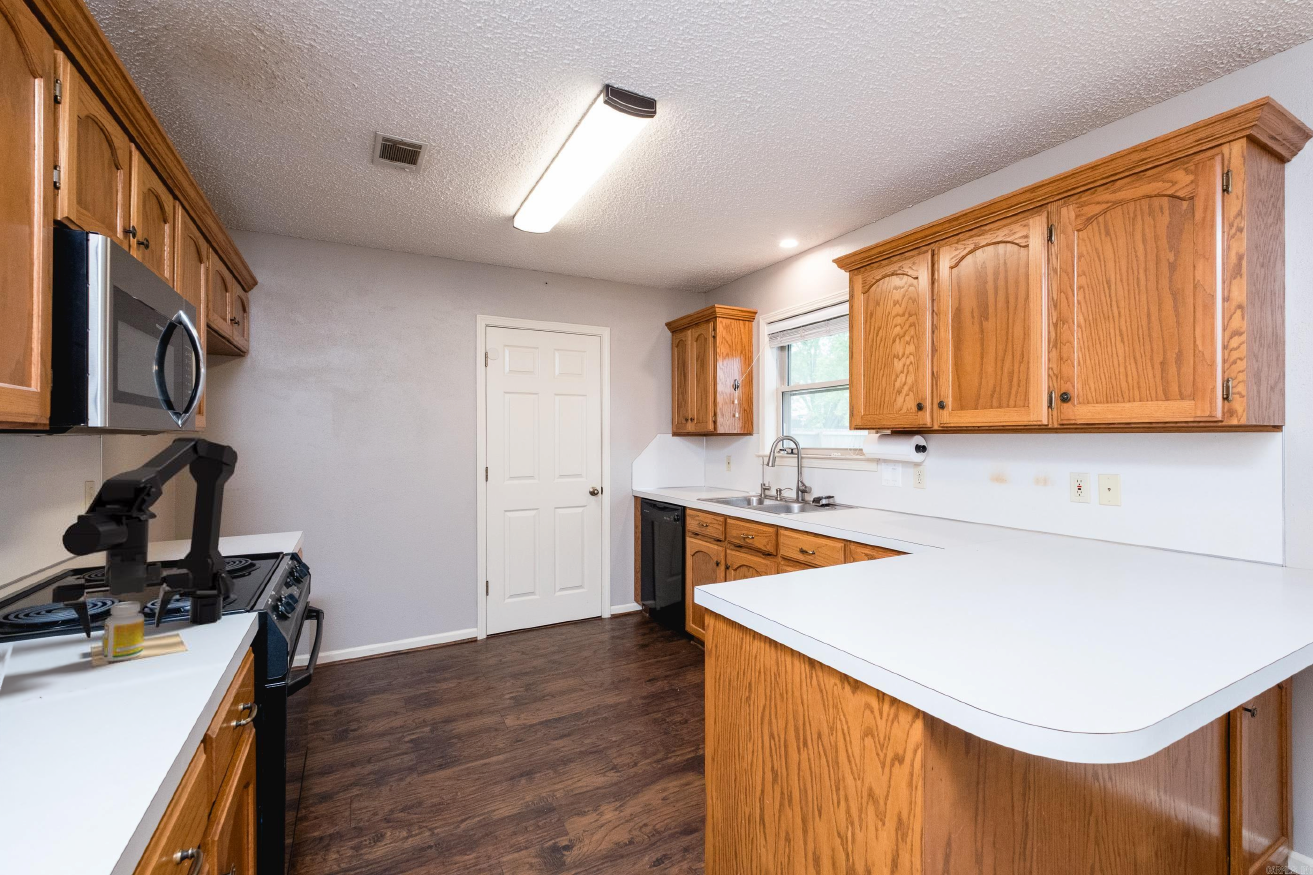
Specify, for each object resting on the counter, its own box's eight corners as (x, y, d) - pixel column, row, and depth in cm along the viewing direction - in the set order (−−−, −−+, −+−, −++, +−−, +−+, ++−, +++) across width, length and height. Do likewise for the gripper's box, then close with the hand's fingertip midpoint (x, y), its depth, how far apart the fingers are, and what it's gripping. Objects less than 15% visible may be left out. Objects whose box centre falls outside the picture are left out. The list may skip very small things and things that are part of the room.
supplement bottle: (94, 661, 105) (96, 607, 105) (122, 651, 110) (124, 599, 110) (124, 662, 105) (126, 608, 105) (150, 652, 110) (152, 600, 110)
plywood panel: (90, 651, 112) (91, 646, 112) (178, 636, 121) (178, 633, 121) (92, 671, 102) (92, 666, 102) (187, 654, 111) (187, 650, 111)
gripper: (53, 558, 95) (49, 655, 95) (198, 546, 109) (195, 632, 108) (54, 549, 103) (51, 638, 103) (189, 539, 116) (186, 618, 116)
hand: (123, 632), depth 107 cm, fingers open, 9 cm apart
